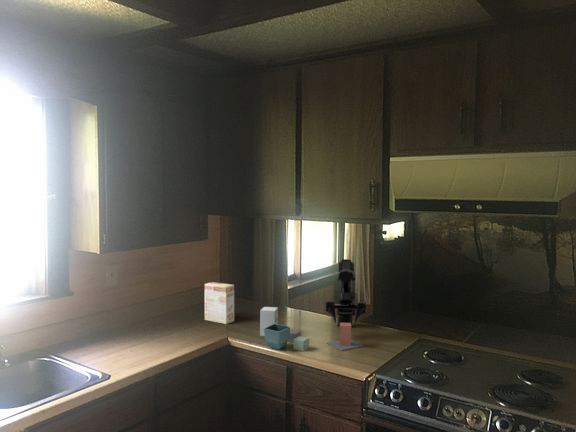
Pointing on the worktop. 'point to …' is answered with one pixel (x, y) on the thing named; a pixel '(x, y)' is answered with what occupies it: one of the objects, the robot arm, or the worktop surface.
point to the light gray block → (293, 335)
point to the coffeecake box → (219, 302)
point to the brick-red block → (345, 334)
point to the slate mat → (342, 348)
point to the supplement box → (268, 318)
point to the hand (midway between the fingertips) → (345, 323)
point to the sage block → (301, 343)
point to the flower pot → (276, 335)
